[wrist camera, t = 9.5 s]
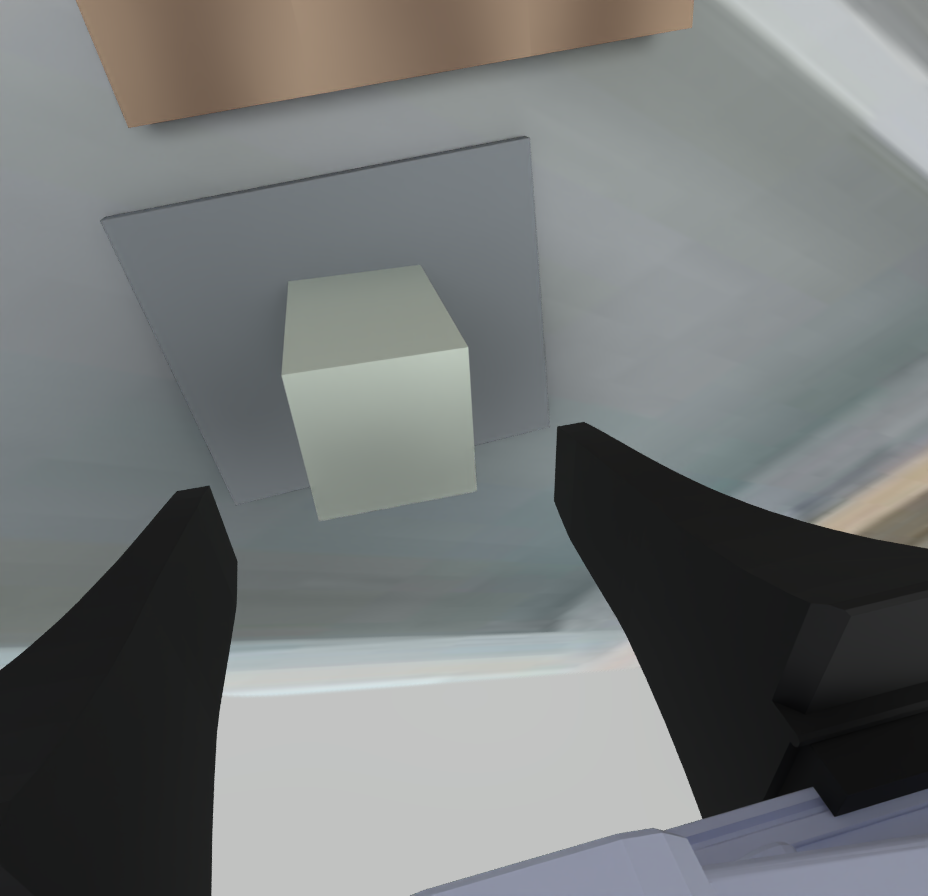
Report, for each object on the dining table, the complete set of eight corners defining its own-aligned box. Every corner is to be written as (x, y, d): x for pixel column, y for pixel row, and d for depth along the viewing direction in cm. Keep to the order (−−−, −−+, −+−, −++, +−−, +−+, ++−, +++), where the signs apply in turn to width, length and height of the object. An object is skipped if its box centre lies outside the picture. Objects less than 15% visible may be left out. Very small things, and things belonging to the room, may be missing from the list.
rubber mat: (236, 497, 22) (235, 505, 21) (105, 216, 16) (100, 220, 16) (545, 420, 23) (549, 427, 23) (524, 136, 17) (530, 137, 17)
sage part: (315, 398, 20) (319, 521, 14) (288, 281, 18) (281, 375, 12) (431, 380, 20) (476, 491, 15) (420, 264, 18) (468, 346, 13)
